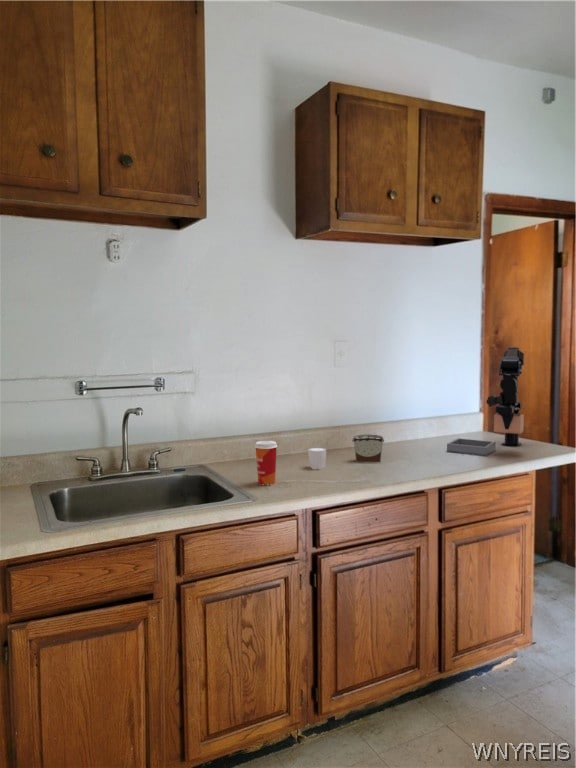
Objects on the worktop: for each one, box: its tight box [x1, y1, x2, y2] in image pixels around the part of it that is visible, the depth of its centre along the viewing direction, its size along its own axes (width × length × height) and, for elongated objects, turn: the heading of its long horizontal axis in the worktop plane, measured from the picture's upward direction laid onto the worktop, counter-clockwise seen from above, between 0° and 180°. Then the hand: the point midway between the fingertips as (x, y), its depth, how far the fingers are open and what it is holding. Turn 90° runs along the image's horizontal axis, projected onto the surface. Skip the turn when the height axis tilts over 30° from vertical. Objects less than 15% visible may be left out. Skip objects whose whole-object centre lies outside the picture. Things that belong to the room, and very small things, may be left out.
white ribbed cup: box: [307, 447, 327, 470], centre depth 215 cm, size 7×7×7 cm
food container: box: [352, 433, 385, 463], centre depth 225 cm, size 12×6×10 cm, turn 84°
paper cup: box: [254, 440, 278, 485], centre depth 193 cm, size 8×8×14 cm
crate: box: [446, 437, 496, 457], centre depth 240 cm, size 14×16×4 cm
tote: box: [493, 412, 525, 435], centre depth 231 cm, size 6×10×7 cm, turn 56°
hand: (508, 428), depth 231 cm, fingers closed on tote, 6 cm apart
